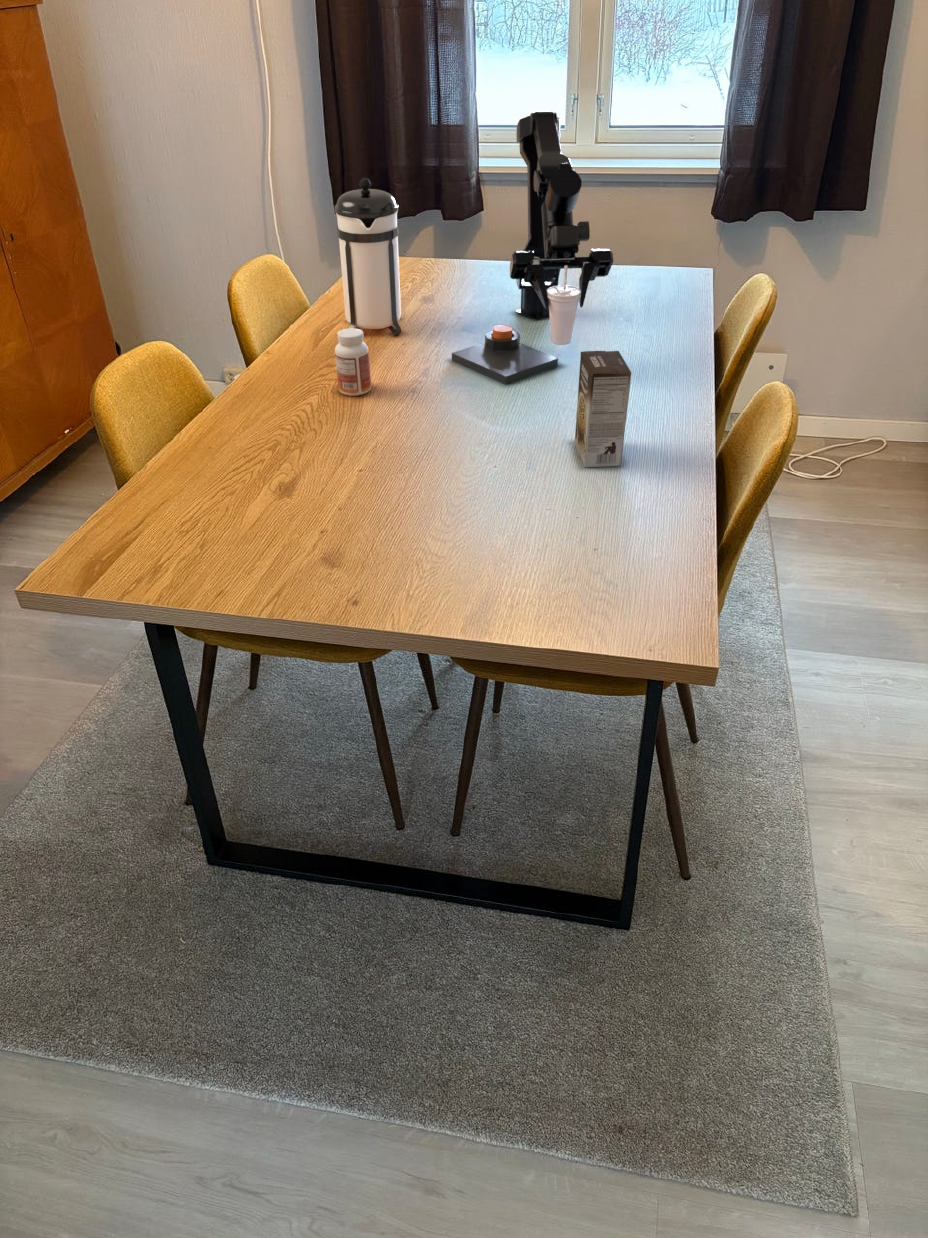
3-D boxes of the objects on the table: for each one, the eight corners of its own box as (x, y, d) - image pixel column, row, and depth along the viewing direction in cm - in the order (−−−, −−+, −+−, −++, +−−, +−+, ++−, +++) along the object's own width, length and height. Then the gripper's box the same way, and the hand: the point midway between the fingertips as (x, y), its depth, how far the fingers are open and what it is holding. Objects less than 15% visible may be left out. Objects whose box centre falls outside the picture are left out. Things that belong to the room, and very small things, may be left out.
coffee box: (572, 442, 159) (579, 350, 149) (610, 441, 159) (619, 348, 150) (583, 468, 152) (590, 372, 142) (622, 466, 152) (632, 371, 142)
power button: (488, 336, 190) (488, 327, 189) (503, 331, 192) (503, 323, 191) (501, 341, 188) (502, 333, 187) (516, 337, 190) (516, 328, 189)
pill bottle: (364, 381, 180) (360, 324, 173) (376, 392, 176) (372, 334, 169) (333, 387, 178) (328, 329, 171) (345, 399, 174) (340, 340, 167)
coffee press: (426, 325, 204) (421, 176, 186) (371, 345, 195) (361, 190, 177) (372, 307, 214) (363, 163, 196) (318, 325, 205) (303, 176, 187)
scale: (450, 360, 188) (449, 343, 186) (503, 343, 196) (503, 326, 194) (505, 385, 178) (506, 367, 176) (559, 365, 186) (560, 348, 184)
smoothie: (580, 337, 181) (586, 262, 173) (573, 349, 176) (579, 273, 168) (548, 333, 183) (552, 259, 174) (540, 345, 178) (544, 270, 169)
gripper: (513, 205, 168) (518, 287, 166) (616, 202, 169) (623, 284, 167) (507, 238, 179) (512, 315, 177) (603, 235, 180) (610, 312, 178)
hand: (564, 306), depth 174 cm, fingers closed on smoothie, 6 cm apart
